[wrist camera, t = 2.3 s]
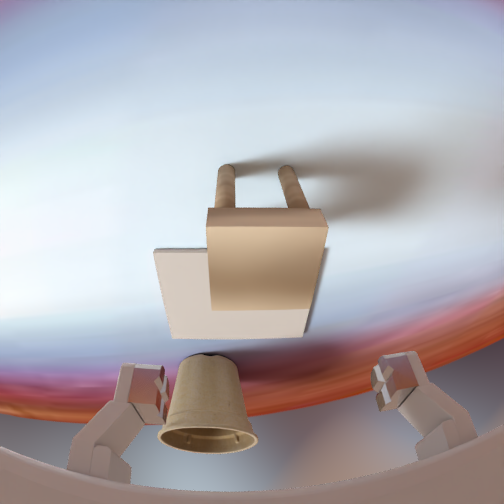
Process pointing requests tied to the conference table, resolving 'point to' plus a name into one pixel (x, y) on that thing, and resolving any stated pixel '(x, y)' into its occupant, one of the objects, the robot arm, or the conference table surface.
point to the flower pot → (207, 409)
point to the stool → (263, 249)
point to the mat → (199, 304)
